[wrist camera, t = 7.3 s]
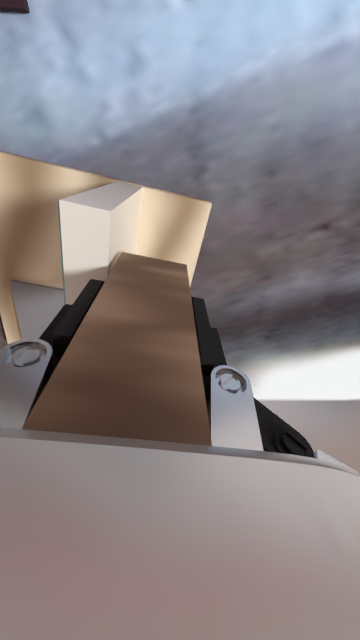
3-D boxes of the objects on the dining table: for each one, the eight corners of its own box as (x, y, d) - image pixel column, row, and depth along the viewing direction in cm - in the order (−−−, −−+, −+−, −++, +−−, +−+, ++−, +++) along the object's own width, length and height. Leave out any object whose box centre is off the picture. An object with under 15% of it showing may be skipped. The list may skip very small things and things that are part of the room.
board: (210, 201, 21) (211, 203, 20) (169, 359, 32) (169, 366, 31) (-31, 143, 18) (-43, 142, 18) (13, 337, 29) (7, 343, 28)
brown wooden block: (186, 264, 13) (236, 628, 3) (174, 316, 15) (177, 643, 5) (121, 251, 12) (-99, 637, 2) (117, 307, 14) (-13, 651, 4)
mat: (92, 293, 25) (91, 295, 24) (92, 349, 29) (91, 351, 29) (12, 279, 24) (9, 281, 23) (24, 339, 28) (22, 342, 28)
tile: (143, 186, 19) (110, 211, 9) (133, 275, 24) (104, 355, 14) (117, 180, 19) (56, 199, 9) (112, 271, 23) (66, 350, 13)
